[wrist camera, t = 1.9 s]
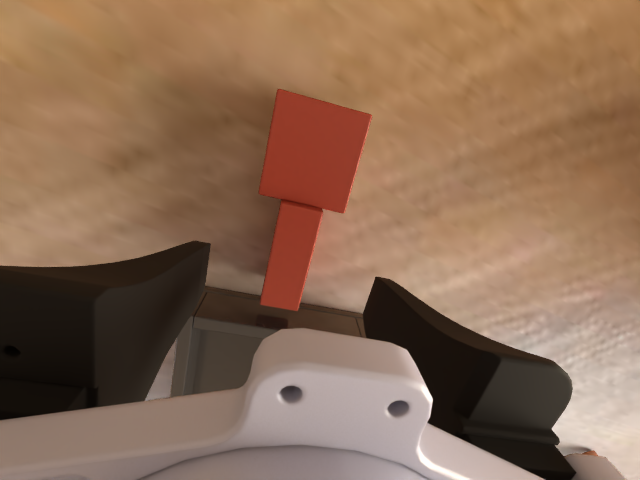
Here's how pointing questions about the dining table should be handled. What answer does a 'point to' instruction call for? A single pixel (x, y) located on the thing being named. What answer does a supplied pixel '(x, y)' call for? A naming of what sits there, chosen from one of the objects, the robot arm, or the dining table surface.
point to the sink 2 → (240, 337)
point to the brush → (306, 183)
